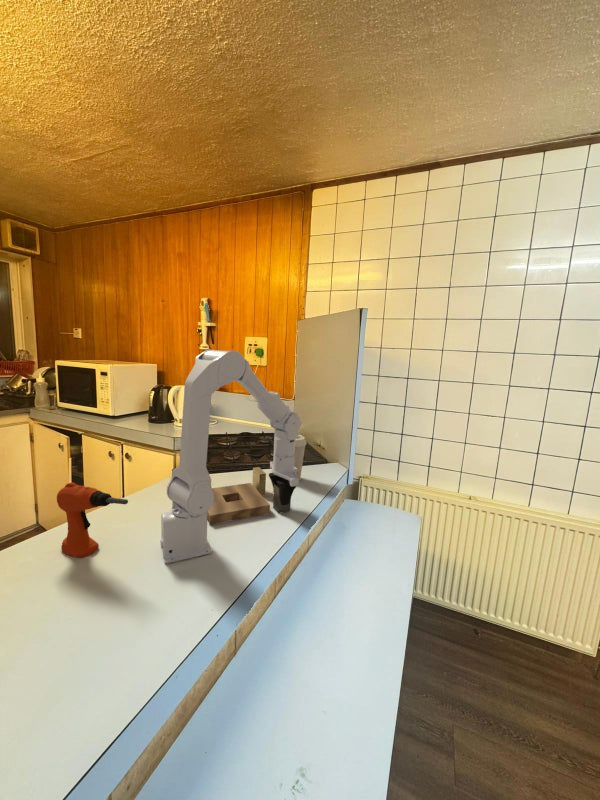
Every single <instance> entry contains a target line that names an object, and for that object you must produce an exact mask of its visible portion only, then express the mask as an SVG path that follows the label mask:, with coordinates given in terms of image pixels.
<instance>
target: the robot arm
mask: <svg viewBox="0 0 600 800" xmlns="http://www.w3.org/2000/svg"><path fill="white" fill-rule="evenodd" d="M233 382H237V383H238V384H240V386H241V387H242V388H244V389H245V390H246V391H247V393H249V394H250V395H251V396H252V397H253V398H254V399H255V400H257V403H256V406H257V408H258V409H259V411H260V412H261V413H262V414H263V415H265V417H266V418H267V419H268V420H269V425H270V427H271V428H273V429H274V433H273V435H274V437H273V438H274V439H273V457H272V459H273V460H272V461H269V469H271V472H270V473H268V477H269V479H270V482H271V484H272V488H273V489H272V490H273V491H274V484H278V487H279V491H280V501H281V505H282V506H283V505H288V504H289V502H290V499H292V496H293V493H294V491H295V489H296V487H297V486H299V482H298V480H299V479H298V478H297V476H296V473H295V472H296V471H297V470H298V469H297V468H296V467H294V457H295V439H296V438H297V435H298V432H299V430H300V429H301V426H302V421H301V418H300V417H299V414H297V412H294V411H291V409H290V407H289V405H288V404H286V403H285V402H284V401H283V400H282V399H281V395H280V394H279V392H275V391H268V389H267V388H266V387H265V386H264V384H263V383H262V382H261V381H260V379H259V377H258V376H257V374H255V372H254V371H253V370H252V368H251V367H250V362H249V361H248V360H247V359H246V358H245V357H244V356H243V355H242V353H240V352H239V351H237V350H218V349H217V350H216V349H206V350H204V351H203V352H201V353H200V354H198V355H197V356H196V357H195V361H194V366H193V367H192V369H191V370H190V372H189V374H188V376H187V377H186V379H185V382H184V389H183V390H184V392H183V402H182V403H183V406H182V420H181V432H180V433H181V436H180V446H179V447H180V449H179V465H178V466H177V467H175V468H174V469H173V470H172V472H171V478H170V480H169V483H168V485H167V487H166V495H167V498H168V499H169V500H171V501H172V503H171V505H172V507H171V510H168V511H166V512H162V513H161V515H160V521H161V524H160V525H161V527H160V528H161V531H160V532H161V537H160V538H161V539H160V549H162V557H163V562H164V564H171V563H175V562H179V561H183V560H189V559H192V558H196V557H201V556H204V555H210V554H211V553H213V549H212V547H211V545H210V542H209V540H208V520H207V513H208V510H209V509H210V507H211V506H212V504H213V501H214V492H213V490H212V478H211V476H210V473H209V471H208V469H207V460H208V446H209V435H210V422H211V421H210V419H211V407H212V406H211V405H212V394H214V393H215V392H216V391H218V390H219V389H220V388H222V387H223V386H226V385H229V384H232V383H233Z"/></svg>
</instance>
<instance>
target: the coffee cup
mask: <svg viewBox="0 0 600 800" xmlns="http://www.w3.org/2000/svg"><path fill="white" fill-rule="evenodd" d="M307 444H308V442H307V440H306V437H305V436H304V435H301V434H297V438H296V439H295V457H294V467H296V468H297V469H298V470H297V471H296V472H295V473H296V476H297V478H298V479H299V480H300V481H301V476H302V470H303V461H304V454H305V450H306V445H307ZM299 480H298V481H299ZM300 481H299V482H300Z"/></svg>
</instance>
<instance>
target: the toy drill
mask: <svg viewBox="0 0 600 800" xmlns="http://www.w3.org/2000/svg"><path fill="white" fill-rule="evenodd" d="M56 503H57V505H58V507H59V508H60V510H62V511H63V512H65V515H66V520H67V534H66V537H65V538H64V539H63V540H62V543H61V548H60V549H61V552H63V554H65V555H67V556H69V555H70V556H69V557H72V558H77V557H78V558H77V559H79V558H85V557H86V558H87V557H89V556H91V555H93V554H94V553H96V552H97V551H98V549H99V547H100V545H99V543H98V542H97V541H96V540H95V539H93V538H92V537H90V534H89V531H88V529H89V528H90V527H91V523H90V522H89V519H88V518H87V514H86V513H85V511H87V510H91V509H93V508H94V509H96V508H98V507H107V506H109V505H110V504H115V505H116V504H119V505H127V504H128V503H129V500H128V499H125V498H116V497H112V495H111V494H110V493H105V492H102V491H101V490H98V489H97V488H95V487H91V486H85V485H79V484H77V483H75V482H72V481H71V482H68V483H66V484H65V485H64V487H62V488H61V489H60V490H59V491H58V492H57V495H56Z"/></svg>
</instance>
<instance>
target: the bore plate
mask: <svg viewBox="0 0 600 800" xmlns="http://www.w3.org/2000/svg"><path fill="white" fill-rule="evenodd" d="M211 488H212V487H211ZM212 490H213V492H214V501H213V504H212V506H211V507H210V509H209V510H208V513H207V523H208V524H209V526H212V525H218V524H222V523H227V522H233V521H237V520H238V521H239V520H244V519H247V518H253V517H259V516H264V515H269V514H270V513H271V512H270V511H271V504H270V503H269V501H267V500H266V499H265V497H264V496H262V495H261V494H260V493H259V492H258V491H257V490H256V488H255V487H254V486H253V485H252V482H246V483H239V484H233V485H226V486H218V487H213V488H212Z"/></svg>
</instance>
